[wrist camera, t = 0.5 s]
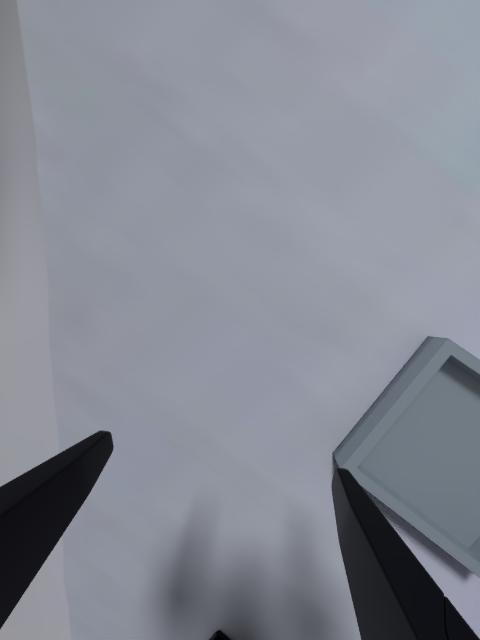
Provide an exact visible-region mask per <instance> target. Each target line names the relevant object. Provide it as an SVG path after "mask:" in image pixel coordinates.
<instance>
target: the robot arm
mask: <svg viewBox="0 0 480 640" xmlns="http://www.w3.org/2000/svg"><path fill="white" fill-rule="evenodd" d="M112 451H113V441H112V436H111V433H110V432H108V431H98V432H96V433H95V434H93V435H91V436H89V437H88V438H86V439H84V440H82V441H81V442H79V443H77V444H75V445H74V446H72V447H70V448H68V449H66V450H65V451H63V452H61V453H59V454H58V455H56V456H54V457H52V458H51V459H49V460H47V461H45V462H44V463H42V464H40V465H38V466H36V467H35V468H33V469H31V470H29V471H28V472H26V473H24V474H22V475H20V476H19V477H17V478H15V479H13V480H12V481H10V482H8V483H7V484H5V485H3V486H1V487H0V629H1V627H2V626H3V624H4V623H5V621H6V620H7V618H8V616H9V615H10V614H11V612H12V611H13V609H14V608H15V606H16V605H17V603H18V602H19V600H20V598H21V597H22V595H23V594H24V592H25V591H26V589H27V588H28V586H29V585H30V583H31V582H32V580H33V579H34V577H35V576H36V574H37V573H38V571H39V570H40V568H41V566H42V565H43V563H44V562H45V560H46V559H47V557H48V556H49V554H50V553H51V551H52V550H53V548H54V547H55V545H56V544H57V542H58V541H59V539H60V538H61V536H62V535H63V533H64V532H65V530H66V529H67V527H68V526H69V524H70V522H71V521H72V519H73V518H74V516H75V515H76V513H77V512H78V510H79V509H80V507H81V506H82V504H83V503H84V501H85V500H86V498H87V496H88V495H89V493H90V492H91V490H92V488H93V486H94V485H95V483H96V481H97V479H98V477H99V476H100V474H101V472H102V470H103V468H104V466H105V465H106V463H107V461H108V459H109V457H110V456H111V454H112ZM332 495H333V502H334V510H335V517H336V524H337V531H338V538H339V544H340V548H341V553H342V557H343V562H344V566H345V570H346V575H347V579H348V583H349V588H350V592H351V596H352V601H353V605H354V609H355V614H356V618H357V622H358V627H359V631H360V635H361V640H480V639H479V638H478V636H477V635H476V634H475V633H474V631H473V630H472V629H471V628H470V626H469V625H468V624H467V623H466V621H465V620H464V619H463V618H462V616H461V615H460V614H459V612H458V611H457V610H456V608H455V607H454V606H453V605H452V603H451V602H450V601H449V599H448V598H447V597H444V593H443V592H442V590H441V589H440V588H439V587H438V585H437V584H436V583H435V581H434V580H433V579H432V578H431V576H430V575H429V574H428V572H427V571H426V570H425V568H424V567H423V566H422V565H421V563H420V562H419V561H418V559H417V558H416V557H415V555H414V554H413V553H412V552H411V550H410V549H409V548H408V546H407V545H406V544H405V543H404V541H403V540H402V539H401V537H400V536H399V535H398V533H397V532H396V531H395V530H394V528H393V527H392V526H391V524H390V523H389V522H388V520H387V519H386V518H385V517H384V515H383V514H382V513H381V511H380V510H379V509H378V508H377V506H376V505H375V504H374V502H373V501H372V500H371V498H370V497H369V496H368V495H367V493H366V492H365V491H364V489H363V488H362V487H361V485H360V484H359V483H358V482H357V480H356V479H355V478H354V476H353V475H352V474H351V473H350V471H349V470H348V469H345V468H339V467H337V468H335V471H334V475H333V480H332ZM210 640H230V639H228V638H227V637H226V636H225V635H224V634H223V633H222V632H220V631H217V632H216V633H215V634H214V635H213V636H212V638H211V639H210Z"/></svg>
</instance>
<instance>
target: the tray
mask: <svg viewBox="0 0 480 640" xmlns="http://www.w3.org/2000/svg"><path fill="white" fill-rule="evenodd" d="M333 455H334V457H335V460H336V462H337V464H338V466H339V468H345V469H348V470H349V471H350V473H351V474H352V475H353V476H354V478H355V479H356V480H357V482H358V483H359V484H360V485H361V486H362V487H363V488H365V489H366V490H367V491H369V492H370V493H371V494H372V495H374V496H375V497H376V498H378V499H379V500H380V501H381V502H383V503H384V504H385V505H387V506H388V507H389V508H390V509H392V510H393V511H394V512H396V513H397V514H398V515H399V516H401V517H402V518H403V519H405V520H406V521H407V522H408V523H410V524H411V525H412V526H414V527H415V528H416V529H417V530H419V531H420V532H421V533H423V534H424V535H425V536H426V537H428V538H429V539H430V540H432V541H433V542H434V543H435V544H437V545H438V546H439V547H441V548H442V549H443V550H444V551H446V552H447V553H448V554H450V555H451V556H452V557H453V558H455V559H456V560H457V561H459V562H460V563H461V564H462V565H464V566H465V567H466V568H468V569H469V570H470V571H471V572H473V573H474V574H475V575H477V576H478V577H479V578H480V360H479V359H478V358H476V357H475V356H473V355H472V354H471V353H469V352H468V351H466V350H465V349H463V348H462V347H460V346H459V345H457V344H456V343H454V342H453V341H451V340H450V339H448V338H439V337H430V336H428V337H427V338H426V339H425V341H424V342H423V343H422V344H421V346H420V347H419V348H418V349H417V350H416V352H415V353H414V354H413V355H412V357H411V358H410V359H409V360H408V361H407V363H406V364H405V365H404V366H403V368H402V369H401V370H400V371H399V372H398V374H397V375H396V376H395V377H394V379H393V380H392V381H391V382H390V384H389V385H388V386H387V387H386V388H385V390H384V391H383V392H382V393H381V395H380V396H379V397H378V398H377V399H376V401H375V402H374V403H373V404H372V406H371V407H370V408H369V409H368V410H367V412H366V413H365V414H364V415H363V417H362V418H361V419H360V420H359V421H358V423H357V424H356V425H355V426H354V428H353V429H352V430H351V431H350V432H349V434H348V435H347V436H346V437H345V439H344V440H343V441H342V442H341V444H340V445H339V446H338V447H337V448H336V450H335V451H334V452H333Z"/></svg>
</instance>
